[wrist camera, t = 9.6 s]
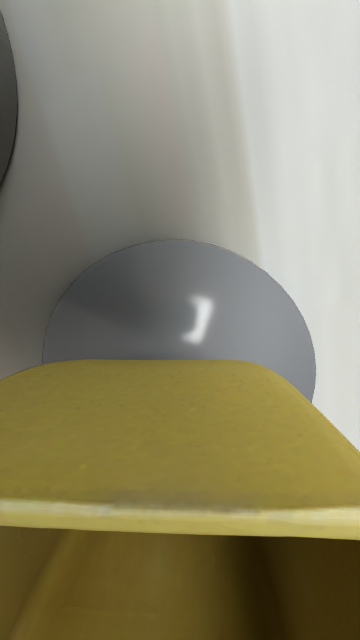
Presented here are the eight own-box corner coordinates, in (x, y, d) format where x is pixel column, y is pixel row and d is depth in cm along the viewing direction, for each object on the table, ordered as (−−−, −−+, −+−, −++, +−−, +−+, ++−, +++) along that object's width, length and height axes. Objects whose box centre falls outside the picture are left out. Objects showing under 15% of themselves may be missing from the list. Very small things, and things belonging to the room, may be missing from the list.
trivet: (48, 459, 19) (42, 469, 18) (50, 221, 15) (42, 221, 14) (278, 498, 18) (281, 509, 18) (343, 261, 14) (351, 262, 14)
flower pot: (277, 315, 12) (464, 530, 3) (267, 498, 14) (360, 904, 6) (58, 316, 13) (-257, 494, 4) (82, 490, 15) (-85, 837, 6)
